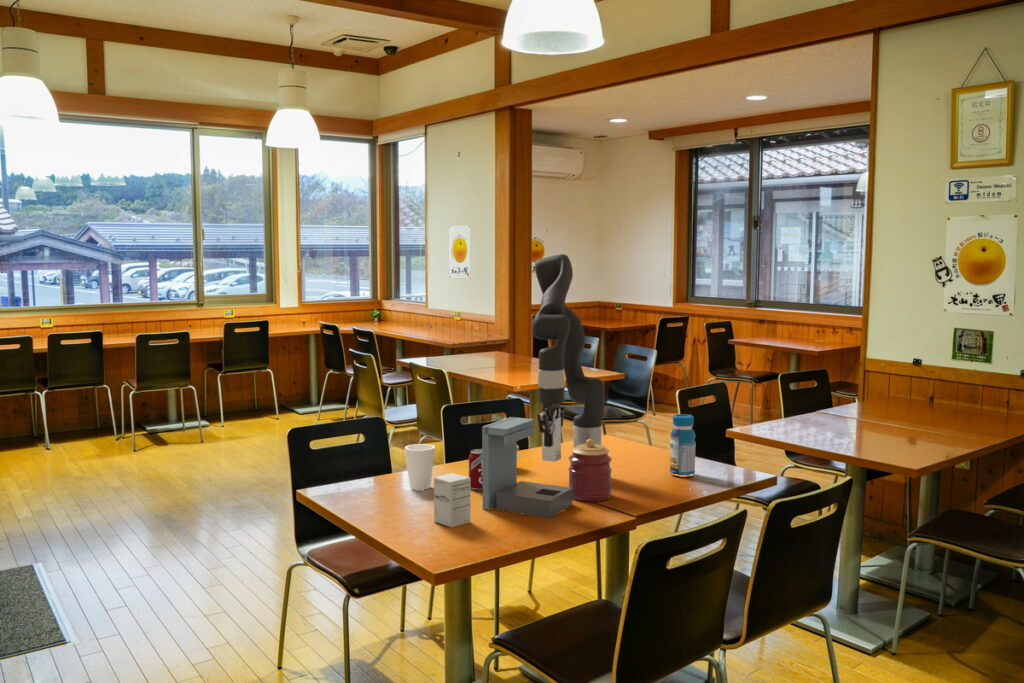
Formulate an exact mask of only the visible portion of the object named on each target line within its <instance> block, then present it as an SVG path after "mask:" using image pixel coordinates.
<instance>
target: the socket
mask: <svg viewBox="0 0 1024 683" xmlns="http://www.w3.org/2000/svg"><path fill="white" fill-rule="evenodd" d="M572 498H573V488H569V486H559V485H554V484H546V483H539V482H538V483H537V482H531V481H524V480H520V481H517V483H516V484H514V486H511V487H509V488H507V489H503V490H501V491H499V492H497V493H496V506H495V507H496V511H500V510H504V511H503V512H506V511H510V512H509V513H512V512H516V513H515V514H519V513H523V514H522V515H525V514H528V515H527V516H531V515H534V516H533V517H538V516H540V518H544V517H546V518H545V519H551V517H552V518H553V517H555V516H556V515H558V514H560V513H561V512H563V511H565V510H566V509H568V508H570V507H571V506H573V499H572ZM570 505H571V506H570ZM569 506H570V507H569ZM567 507H568V508H567ZM564 509H565V510H564ZM562 510H563V511H562ZM559 512H560V513H559ZM554 515H555V516H554Z"/></svg>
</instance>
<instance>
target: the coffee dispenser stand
mask: <svg viewBox="0 0 1024 683" xmlns="http://www.w3.org/2000/svg"><path fill="white" fill-rule="evenodd" d="M481 431H482V432H481V433H482V434H481V435H482V438H481V440H482V443H481V449H482V477H483V491H482V510H486V509H490V510H491V508H492V509H494V508H495V507H497V506H496V493H497V492H499V491H501V490H503V489H507V488H509V487H511V486H514V484H516V483H518V478H517V477H518V475H517V472H518V468H517V467H518V466H517V465H518V463H517V462H518V460H517V445H518V443H517V442H518V441H520V440H523V439H526V438H528V437H530V436H534V435H535V419H534V418H526V417H524V418H523V417H514V416H509V417H507V418H504V419H501V420H497V421H495V422H492V423H490V424H486V425H484V426H482V428H481ZM494 506H495V507H494Z"/></svg>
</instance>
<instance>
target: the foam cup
mask: <svg viewBox="0 0 1024 683" xmlns="http://www.w3.org/2000/svg"><path fill="white" fill-rule="evenodd" d="M435 455H436V447H435V445H433V444H429V443H414V444H409V445H406V446H405V447H404V456H405V461H406V468H407V475H408V481H409V482H408V483H409V487H410V488H411V490H412V489H415V490H414V491H419V490H420V491H424V490H423V489H428V488H430V489H431V484H432V479H433V478H432V477H433V468H434V458H435ZM428 490H429V489H428Z"/></svg>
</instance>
